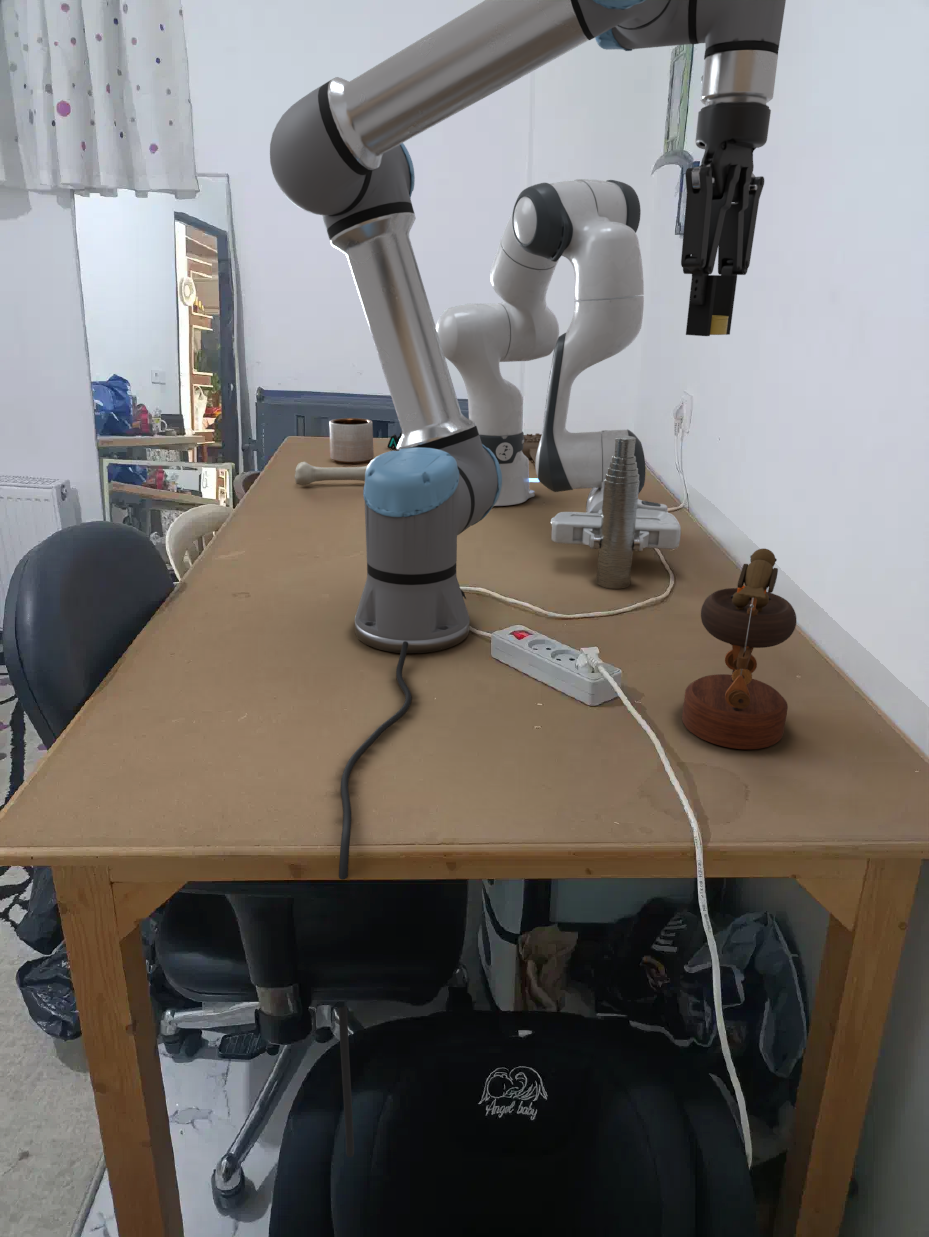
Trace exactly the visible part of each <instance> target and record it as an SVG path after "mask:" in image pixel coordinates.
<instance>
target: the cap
mask: <svg viewBox="0 0 929 1237" xmlns="http://www.w3.org/2000/svg"><path fill="white" fill-rule="evenodd" d="M728 317H729V316H722V315H712V321H711V330H710V336H724V335H725V334H726V333H727V325H728ZM725 336H726V335H725Z"/></svg>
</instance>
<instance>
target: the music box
mask: <svg viewBox="0 0 929 1237" xmlns="http://www.w3.org/2000/svg"><path fill="white" fill-rule="evenodd" d="M749 557H750V563H743V565H742V568H741V571H740V574H739V577H738V580H737V585H736V586H737V587H732V588H729V587H728V588H722V589H718V590H716V591H714V592H712V593H711V594H709V595H708V597H706V598H705V600H704V601H703V603H702V605H701V608H700V620H701V623H702V625H703V627H704V628H705V630H706V631H707V632H708V633H709V634H710V636H712V637H714V638H715V639H716V640H719V641H721V642H723V643H726V644H729V645H730V646H732V649H730V650H729V651H727V652H726V654H725V656H724V663H725V665H726V667H727V668H728V669H730V670H732V671H731V674H727V673H725V674H724V673H722V674H721V673H720V674H710V675H705V676H702V677H700V678H697V679H696V680H694V681H692V682H691V683H690V684H688V685H687V686H686V688H685V691H684V698H683V707H682V714H681V721H682V724H683V726H685V728H686V729H687V730H688V731H689V732H690V733H691V734H693V735H694V736H696V737H698V738H699V739H701V740H704V742H705V741H706V742H708V743H710V744H714V745H717V746H721V747H725V748H730V749H738V750H759V749H764V748H769V747H771V746H774V745H775V744H777V743H778V742H780V741H781V740H782V738H783V737H784V731H785V726H786V721H787V716H788V709H789V706H788V702H787V701H786V698H784V696H783V695H782V694H781V693H780V692H779V691H778V690H777V689H775V687H772V686H771V685H769V684H768V683H765V682H764V681H761V680H758V679H755V678H753V673H754V672H755V671H756V669H757V668H758V661H757V659H756V657H755V656H754V655H753V654H752V653H753V650H754V649H763V648H764V649H765V648H771V647H775V646H778V645H780V644H783V643H784V642H786V641H787V640H788V639H790V638H791V636H792V635H793V634H794V632H795V630H796V627H797V613H796V611H795V608H794V607H793V606H792V604H791V603H790V602H789V601H788V600H787V599H785V598H784V597H782V596H780V595H777V594H776V593H773V592H774V589H775V586H776V582H777V578H778V574H779V573H778V572H779V569H778V567H774V566H775V564H776V562H777V560H778V559H777V558H776V556H775V554H774V552H773V551H772V550H771V549H769V548H759V549H756V550H754V552H753V553H752V554H751V555H750V556H749Z"/></svg>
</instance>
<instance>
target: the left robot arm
mask: <svg viewBox="0 0 929 1237" xmlns="http://www.w3.org/2000/svg"><path fill="white" fill-rule="evenodd" d="M786 1H787V0H483V1H482V2H481V1H480V3H478V4H477V5H475V6H473V7H471V8H470V9H468V10H467V11H465V12H463V13H461V14H460V15H458V16H457V17H455V18H453V19H451V20H450V21H448V22H446V23H445V24H443V25H441V26H440V27H438V28H436V29H435V30H433V31H431V32H430V33H428V34H427V35H424V36H423V37H421V38H420V39H418V40H416V41H415V42H412V43H411V44H410V45H408V46H406V47H405V48H403V49H401V50H400V51H398V52H396V53H395V54H393V55H392V56H390V57H388V58H386V59H384V60H383V61H381V62H380V63H378V64H376V65H375V66H373V67H371V68H369V69H368V70H366V71H365V72H363V73H361V74H360V75H358V76H356V77H355V78H353V79H352V80H350V81H349V80H347V79H345V78H343V77H339V76H335V77H334V78H332V79H330V80H328V81H327V82H325V83H324V84H322V85H320V86H318V87H317V88H315V89H314V90H312V91H310V92H309V93H307V94H306V95H304V96H303V97H301V98H300V99H299V100H297V101H296V102H294V104H292V105H291V106H290V107H289V108H288V109H287V110H286V111H285V112H284V113H283V114H282V115H281V117H280V118H279V119H278V121H277V123H276V125H275V127H274V129H273V131H272V134H271V139H270V142H269V162H270V163H269V164H270V168H271V172H272V175H273V178H274V180H275V182H276V185H277V186H278V187H279V188H278V189H279V190H280V191H281V192H282V194H283V195H284V196H285V197H286V198H287V200H288V201H289V202H291V203H292V204H293V205H294V206H296V207H297V208H299V209H301V210H303V211H304V212H307V213H310V214H314V215H318V216H321V217H322V220H323V221H322V222H323V224H324V227H325V230H326V233H327V236H328V240H329V242H330V245H331V247H333V248H335V249H337V250H339V251H340V252H342V253H343V254H345V256H346V258H347V261H348V265H349V268H350V270H351V275H352V277H353V281H354V284H355V286H356V291H357V294H358V296H359V300H360V302H361V305H362V306H361V307H362V309H363V312H364V315H365V318H366V321H367V324H368V327H369V328H368V329H369V331H370V334H371V338H372V341H373V343H374V344H373V345H374V347H375V350H376V353H377V357H378V359H379V363H380V365H381V368H382V372H383V375H384V378H385V382H386V384H387V388H388V391H389V395H390V397H391V400H392V403H393V406H394V410H395V413H396V416H397V419H398V423H399V426H400V429H401V432H402V436H401V438H400V440H399V442H398V445H397V447H396V450H389V451H386V452H383V453H380V454H379V455H377V456H375V457H373V459H372V460H370V461H369V463H368V464H367V465H366V466H367V468H366V472H365V481H364V485H363V490H362V493H363V494H362V495H363V500H364V520H365V550H366V579H365V584H364V586H363V589H362V592H361V596H360V600H359V602H358V606H357V609H356V612H355V615H354V633H355V636H356V638H357V639H358V640H359V641H360V642H362V643H363V644H365V645H367V646H368V647H371V648H374V649H377V650H380V651H384V652H390V653H396V654H397V653H398V654H399V658H398V661H397V665H396V669H395V677H396V681H397V683H398V686H399V687H400V689H401V690H402V692H403V694H404V698H405V701H404V703H403V705H402V706H401V708H399V710H398V711H397V712H395V713H394V714H393V715H392V716H391V717H390V718H388V719H386V721H384V722H383V723H382V724H380V725H379V726H378V727H377V728H376V729H375V730H374V731H373V733H372V734H370V736H369V737H368V738H367V739H366V740H365V741H364V742H363V743H362V744H361V745H360V746H359V747H358V748H357V749H356V751H354V752H353V753H352V755H351V756H350V758H349V760H347V763H346V765H345V766H344V767H345V768H344V769H343V771H342V775H341V779H340V796H341V803H342V830H341V838H340V848H339V849H340V851H339V863H338V864H339V865H338V866H339V867H338V879H339V880H347V878H348V876H349V857H350V844H351V843H350V841H351V830H352V807H351V806H352V805H351V798H350V791H349V783H350V782H349V781H350V776H351V773H352V771H353V769H354V767H355V765H356V763H357V762H358V761H359V760H360V758H361V757H362V756H363V755H364V754H365V753H366V751H367V750H368V749H369V748H370V747H371V746H372V745H373V744H374V743H375V742H376V741H377V740H378V738H379V737H380V736H381V735H383V733H384V732H386V730H388V729H389V728H390V727H391V726H393V725H394V724H395V723H396V722H398V721H399V720H400V719H401V718H402V717H403V716H404V715H405V714H406V713H407V712H408V710H409V709H410V707H411V704H412V700H413V697H412V693H411V691H410V688H409V686H408V685H407V684H406V682H405V680H404V678H403V668H404V664H405V660H406V658H407V654H425V653H433V652H439V651H443V650H446V649H449V648H452V647H455V646H457V645H458V644H460V643H462V642H463V641H464V640H466V639H467V637H468V636H469V634H470V615H469V612H468V608H467V606H466V601H465V600H467V598H466V594H465V592H464V591H463V590H462V589H461V586H460V583H459V581H458V577H457V561H458V560H457V559H458V558H457V557H458V556H457V554H458V536H459V535H461V534H462V533H463V532H465V531H466V530H467V529H469V528H470V527H473V526H474V525H476V524H478V523H480V522H481V521H482V520H484V519H485V518H486V516H487V515H489V513H490V512H491V510H492V509H493V508H494V507H495V506H494V505H495V503H496V502H497V500H498V498H499V495H500V492H501V487H502V473H501V468H500V465H499V462H498V460H497V458H496V457H495V455H494V454H493V453H492V451H491V450H490V449H489V448H487V447H485V446H484V445H483V444H482V443H481V439H480V436H479V433H478V429H477V426H476V423H475V422H473V421H471V420H469V417H466V416H465V415H464V414H463V413H462V410H461V408H460V403H459V400H458V397H457V394H456V393H457V392H456V390H455V387H454V383H453V379H452V376H451V373H450V369H449V367H448V364H447V360H446V358H445V356H444V353H443V349H442V346H441V343H440V339H439V336H438V333H437V329H436V323H435V320H434V319H435V318H434V316H433V313H432V309H431V306H430V303H429V300H428V295H427V292H426V288H425V286H424V283H423V282H424V281H423V279H422V276H421V272H420V269H419V266H418V263H417V259H416V255H415V252H414V248H413V245H412V242H411V239H410V232H411V229H412V228H413V225H414V223H415V222H416V214H415V210H414V207H413V206H414V205H413V204H412V199H411V197H412V195H413V192H414V190H415V181H416V180H415V178H416V177H415V168H414V164H413V160H412V157H411V154H410V153H409V150H408V148H407V147H406V145H405V142H407V141H409V140H410V139H412V138H415V137H416V136H418V135H420V134H422V133H423V132H425V131H426V130H429V129H430V128H433V127H434V126H436V125H438V124H440V123H441V122H443V121H445V120H447V119H449V118H451V117H453V116H455V115H456V114H458V113H459V112H461V111H464V110H465V109H467V108H469V107H470V106H472V105H474V104H476V103H478V102H480V101H481V100H484V99H485V98H486V97H489V96H490V95H492V94H495V93H496V92H498V91H500V90H501V89H503V88H505V87H507V86H508V85H510V84H513V83H514V82H516V81H518V80H520V79H521V78H524V77H525V76H527V75H529V74H530V73H532V72H534V71H536V70H538V69H539V68H541V67H543V66H545V65H547V64H549V63H550V62H552V61H554V60H556V59H557V58H558V59H559V57H561V56H563V55H565V54H567V53H568V52H570V51H572V50H574V49H576V48H578V47H580V46H581V45H583V44H585V43H587V42H588V41H591V40H593V39H594V40H595V42H596V43H597V45H598V47H600V49H603V50H605V51H607V50H609V51H610V50H620V51H621V50H623V51H625V52H632V51H633V50H637V49H640V50H641V49H650V48H663V47H673V46H683V45H684V46H686V45H700V44H705V47H704V48H705V50H704V56H703V60H704V63H703V72H702V76H701V77H700V82H701V89H700V98H699V99H700V101H699V102H701V103H702V105H704V106H703V107H702V108H701V109H700V110H699V111H698V112H697V122H696V123H697V124H696V132H695V146H696V147H697V148H699V149H701V150H704V152H703V156H702V158H701V163H700V165H699V166H696V167H695V166H694V167H687V168H686V170H685V174H684V175H685V176H684V177H685V186H686V198H685V210H684V222H683V223H684V224H683V235H682V245H681V246H682V247H681V257H680V266H681V268H682V272H683V274H684V275H691V282H690V291H689V299H688V310H687V319H686V329H685V335H686V336H694V337H695V336H697V337H710V336H711V335H710V330H711V321H712V315H722V316H729V317H728V325H727V333H726V334H725V336H727V335H731V328H732V320H733V313H734V304H735V299H736V298H735V297H736V289H737V282H738V276H745V275H746V274H748V269H749V267H750V264H751V257H752V250H753V244H754V237H755V231H756V224H757V217H758V212H759V211H758V210H759V204H760V198H761V195H762V192H763V189H764V186H765V177H764V176H762V175H761V176H756V175H755V174H754V152H755V150H756V149H760V148H762V147H764V146H765V145H766V144H767V141H768V135H769V129H770V122H771V120H770V119H771V113H772V110H771V108H770V107H769V105H767V104H768V103H769V102H771V101H772V100H773V98H774V92H775V85H776V84H775V83H776V76H777V69H778V68H777V67H778V58H779V48H780V42H781V37H782V36H781V35H782V29H783V22H784V15H785V8H786ZM716 259H717V273H718V274H712V273H713V272H714V268H715V264H716ZM348 1016H349V1015H348V1005H345V1006H340V1007H338V1025H339V1026H338V1027H339V1047H340V1063H341V1064H340V1065H341V1081H342V1096H343V1097H342V1098H343V1115H344V1134H345V1152H346V1153H345V1154H346V1157H348V1158H352V1157H354V1155H355V1140H354V1139H355V1137H354V1136H355V1135H354V1118H353V1117H354V1116H353V1099H352V1098H353V1097H352V1081H351V1080H352V1079H351V1064H350V1063H351V1062H350V1044H349V1042H350V1041H349V1022H348V1020H349V1019H348Z"/></svg>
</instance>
